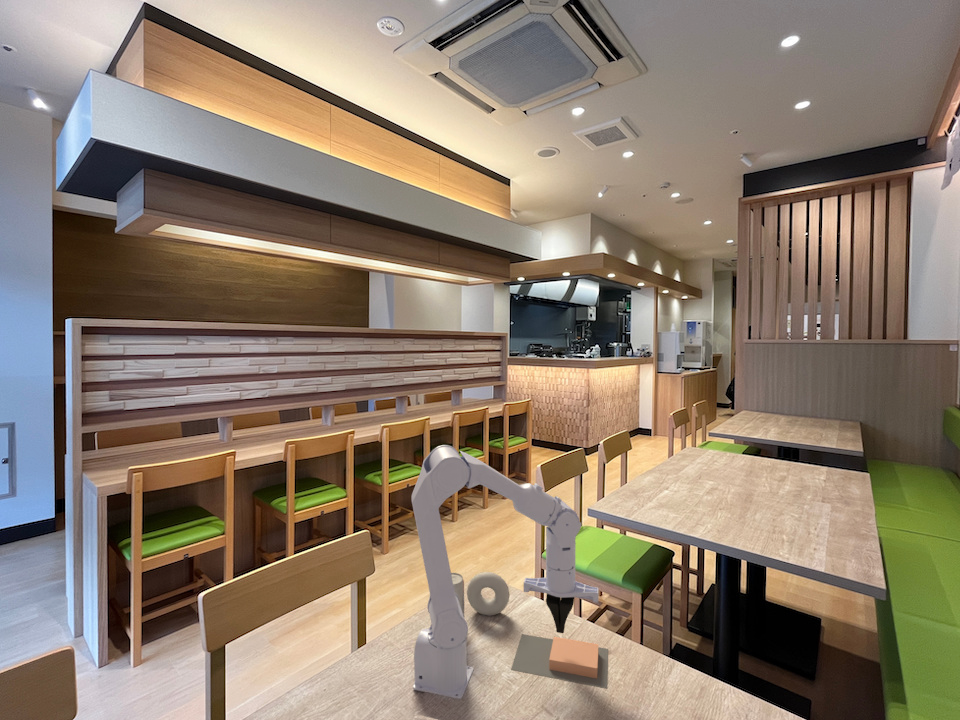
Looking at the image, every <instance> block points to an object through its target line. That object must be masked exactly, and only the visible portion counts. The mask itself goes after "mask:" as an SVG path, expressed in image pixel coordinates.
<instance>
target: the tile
mask: <svg viewBox="0 0 960 720" xmlns="http://www.w3.org/2000/svg"><path fill="white" fill-rule="evenodd" d="M598 647H599V643H593V642H588V641H583V640H576V639H570V638H566V637H565V638H564V637H558V636H553V643H552V648H551V653H550V658H549V669H550V670H555V671H560V672H566V673H571V674H576V675H581V676H587V677H592V678H597V672H598Z"/></svg>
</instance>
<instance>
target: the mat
mask: <svg viewBox="0 0 960 720" xmlns="http://www.w3.org/2000/svg"><path fill="white" fill-rule="evenodd" d="M552 643H553V639H552V638H546V637H541V636H536V635H530V634H524V633H521V635H520V639H519V642H518V645H517V649H516V652H515V655H514V657H513V662H512V666H511V668H510V670H511V671H515V672H520V673H525V674H530V675H536V676H541V677H547V678H551V679H556V680H562V681H567V682H571V683H576V684H577V683H578V684H582V685H586V686H592V687H595V688H602V689H608V676H609V675H608V674H609V673H608V672H609V671H608V669H609V666H608V665H609V648H605V647H599V646H598V672H597V678H592V677H587V676H581V675H576V674H571V673H566V672H560V671H555V670H550V669H549V658H550V653H551V648H552Z"/></svg>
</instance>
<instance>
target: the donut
mask: <svg viewBox="0 0 960 720" xmlns="http://www.w3.org/2000/svg"><path fill="white" fill-rule="evenodd" d="M485 588H486V589H487V588H488V589H491V590H492V591H493V593H494V597H493V598H491V599H490V598H489V599H487V598H485V597H483V594H482V590H484V589H485ZM466 596H467V597H466V598H467V601H468V602H469V605H470V607H471V608H472V609H473V610H474V611H476V612H477V613H478V614H480V615H483V616H487V617H488V616H489V617H490V616H497V614H501V612H503V611H504V610H505V609H506V608H507V606H508V604H509V601H510V589H509V586H508V584H507V581H506V580H505V579H504V578H503V577H502V576H501V575H499V574H498V573H495V572H493V571H492V572H491V571H483V572H480V573H478V574H475V575H474V576H473V577H471V579H470V580H469V583H468V585H467V589H466Z"/></svg>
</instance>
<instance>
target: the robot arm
mask: <svg viewBox="0 0 960 720" xmlns="http://www.w3.org/2000/svg"><path fill="white" fill-rule="evenodd" d="M459 452H460V453H459ZM460 454H461V456H460ZM478 485H481V486H483V487H485V488H486V489H489V490H491V491H493V492H495V493H497V494H499V495H501V496H503V497H504V498H506V499H508V500H510V501H512V505H513V508H514V510H515V511H516V512H518V513H520V514H521V515H524V516H525V517H527V518H528V519H530V520H531V521H534V522H535V523H537V524H539V525H541V526H543V527H544V526H545V527H546V532H545V533H546V534H545V537H546V538H545V577H531V578H530V577H524V581H523V592H524V593H529V592H537V593H543V594H546V597H545V598H546V599H545V604H546V606H547V607H548V609H549V611H550V613H551V615H552V618H553V622H554V625H555V629H556V633H559V634H564V633H565V628H566V627H565V626H566V622H567V620H568V619H567V618H568V617H569V615H570V612H571V611H572V610H573V607H574V603H575V598H577V599H583V600H584V599H585V600H589V601H590V600H591V601H592V602H593V603H597V604H598V603H599V599H600V598H599V593H600V592H599V591H600V590H599V589H600V588H599V587H596V586H591V585H588V584H585V583H582V582H579V581H577V580H576V544H577V543H576V537H577V535H578V534H579V532H580V530H581V529H582V528H581V527H582V522H580V518H579V515H578V513H577V512H576V511H575V510H573V508H572V507H571V506H569V505H568V504H567V503H566V502H564V500H562V498H560V497H558V495H557V496H553V495H550V494H549V493H547V492H545V491H544V490H543V489H544V488H543V487H542V486H541V485H539V484H538V483H537V482H536V483H534V484H532V483H530V482H529V483H522V484H518V483H517V482H515V481H513V480H512V479H510V477H509V478H508V476H506V475H504V474H503V473H500V472H499V471H497V470H496V469H495V468H493V467H491V466H490V465H488V464H487V463H485V462H483V461H482V460H481V459H478V458H477V457H474V456H473V455H470V454H469V453H466V452H465V451H462V450H460V451H458V450H457V449H456V448H455V447H454V446H452V445H449V444H442V445H438V446H436V447H434V448H433V449H432V450H431V451H430V452H429V453H428V455H427V456H426V457H425V458H424V459H423V462H422V465H421V469H420V473H419V475H418V477H417V481H416V483H415V486H414V488H413V491H412V493H411V495H410V496H411V504H412V510H413V514H414V519H415V525H416V530H417V535H418V539H419V540H418V541H419V546H420V550H421V555H422V559H423V560H422V561H423V565H424V571H425V574H426V582H427V585H428V591H429V598H428V600H427V612H428V614H429V617H430V623H431V624H430V626H429V628H422V629H420V631H419V633H418V636H417V638H416V640H415V645H414V652H413V653H414V654H413V657H414V658H413V660H414V661H413V663H414V667H413V668H414V670H413V671H414V684H413V685H412V689H413V690H414V691H418V692H422V693H430V694H435V695H438V696H443V697H448V698H451V699H452V698H453V699H458V700H461V699H462V698H463V696H464V694H465V692H466V689H467V687H468V684H469V682H470V679H471V677H472V675H473V672H474V669H475V668H474V667H473V666H469V665H467V663H468V661H467V655H468V654H467V653H468V652H467V636H468V632H469V625H468V623H467V620H466V619H465V615H464V616H463V612H462V609H461V606H460V601H459V597H458V595H457V594H456V593H455V591H454V586H453V581H452V575H451V573H452V572H451V566H450V560H449V557H448V549H447V546H446V540H445V535H444V530H443V526H442V524H443V523H442V520H441V515H440V509H439V508H440V507H441V506H442V505H443V504H444V502H445V501H446V500H447V499H449V498H450V497H451V496H453V495H454V494H456V493H457V492H459V491H460V490H462V488H464V487H465V486H466V487H467V489H471V488H474V487H476V486H478Z"/></svg>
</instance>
